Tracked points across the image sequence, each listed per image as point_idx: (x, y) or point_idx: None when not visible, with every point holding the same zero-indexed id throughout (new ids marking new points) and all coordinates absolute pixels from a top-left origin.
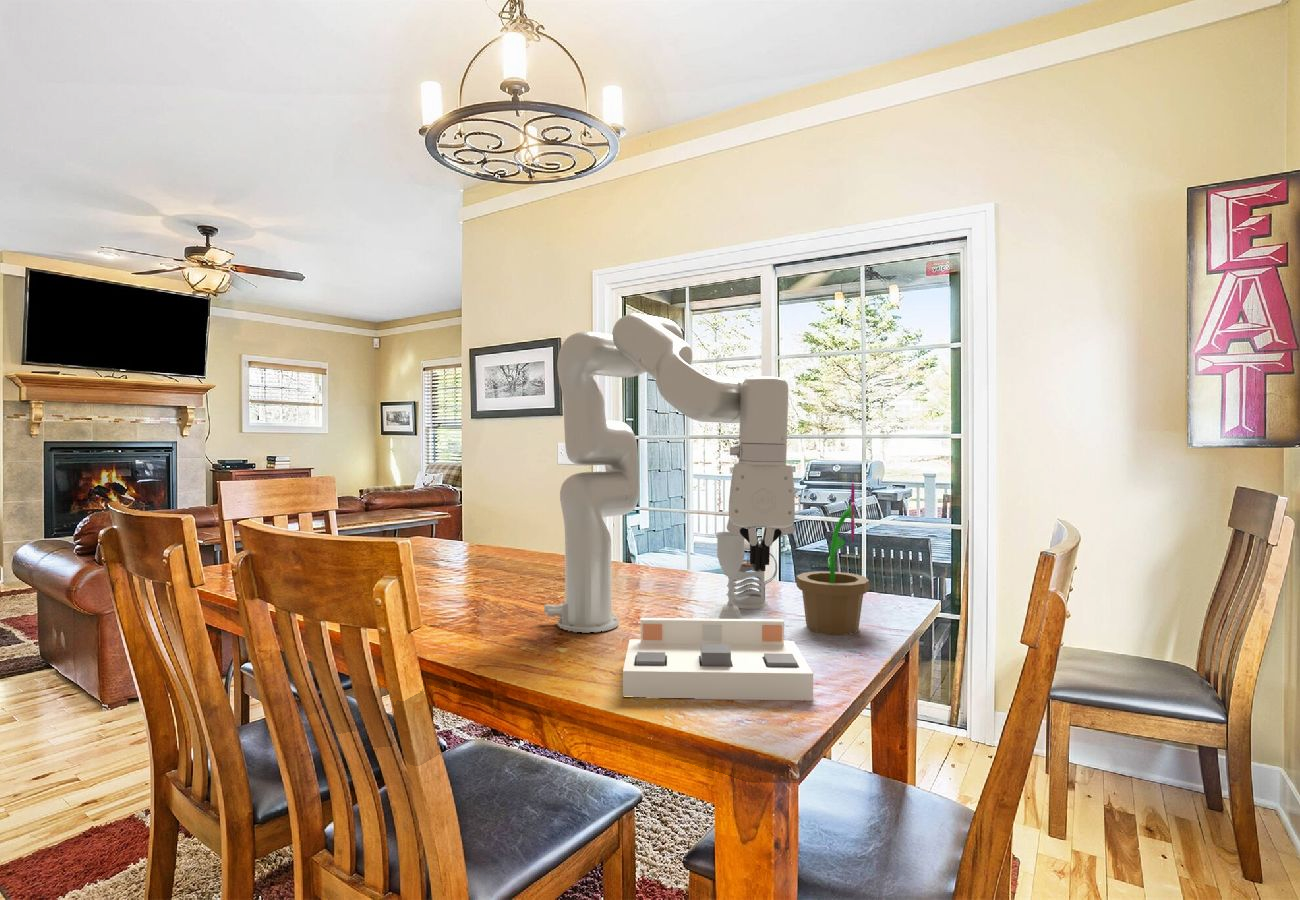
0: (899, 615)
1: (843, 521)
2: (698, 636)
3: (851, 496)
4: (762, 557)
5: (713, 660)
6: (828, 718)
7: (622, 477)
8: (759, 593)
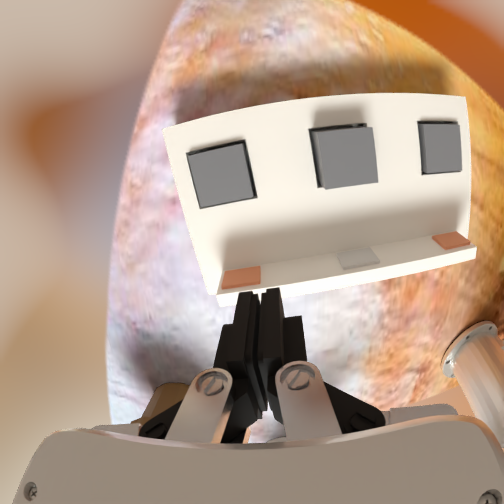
0: None
1: None
2: (378, 252)
3: None
4: (248, 325)
5: (346, 128)
6: (155, 72)
7: None
8: None
